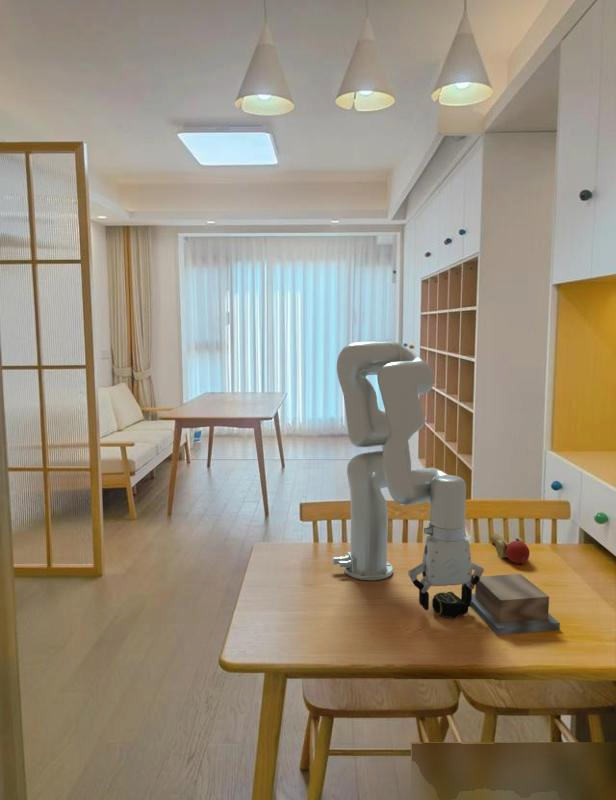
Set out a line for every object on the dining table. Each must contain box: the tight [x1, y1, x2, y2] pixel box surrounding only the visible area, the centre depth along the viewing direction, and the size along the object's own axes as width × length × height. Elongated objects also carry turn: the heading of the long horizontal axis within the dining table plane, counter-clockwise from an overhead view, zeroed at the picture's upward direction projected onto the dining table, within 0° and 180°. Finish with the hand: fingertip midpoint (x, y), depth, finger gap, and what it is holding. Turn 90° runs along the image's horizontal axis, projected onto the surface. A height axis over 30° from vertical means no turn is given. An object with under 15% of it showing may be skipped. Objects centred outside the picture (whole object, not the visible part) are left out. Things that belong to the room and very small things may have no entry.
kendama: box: [489, 533, 530, 565], centre depth 166 cm, size 8×6×18 cm
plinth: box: [470, 573, 561, 636], centre depth 130 cm, size 14×16×6 cm
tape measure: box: [431, 591, 469, 618], centre depth 131 cm, size 7×7×4 cm
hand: (445, 605), depth 131 cm, fingers open, 9 cm apart
